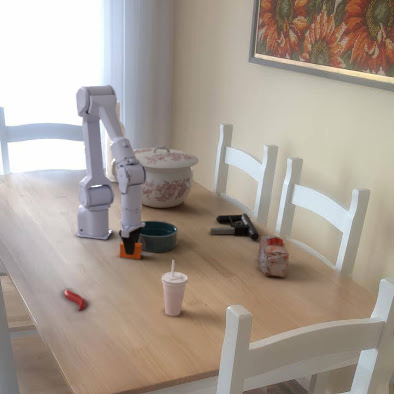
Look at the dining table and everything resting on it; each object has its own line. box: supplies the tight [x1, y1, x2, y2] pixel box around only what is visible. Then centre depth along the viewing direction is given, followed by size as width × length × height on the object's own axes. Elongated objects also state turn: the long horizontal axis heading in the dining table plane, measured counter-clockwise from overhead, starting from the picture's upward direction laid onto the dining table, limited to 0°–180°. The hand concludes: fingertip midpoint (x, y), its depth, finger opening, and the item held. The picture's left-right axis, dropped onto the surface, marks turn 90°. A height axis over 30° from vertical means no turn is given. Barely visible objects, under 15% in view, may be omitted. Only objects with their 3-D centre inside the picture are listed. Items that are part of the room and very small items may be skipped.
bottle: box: [104, 100, 126, 183], centre depth 229 cm, size 8×8×30 cm
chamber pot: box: [111, 145, 199, 209], centre depth 210 cm, size 28×28×21 cm
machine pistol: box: [210, 212, 260, 241], centre depth 194 cm, size 3×20×16 cm
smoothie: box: [160, 259, 189, 317], centre depth 139 cm, size 6×6×14 cm
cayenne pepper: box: [64, 288, 87, 312], centre depth 144 cm, size 12×5×2 cm, turn 18°
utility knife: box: [119, 240, 152, 260], centre depth 169 cm, size 9×3×4 cm, turn 82°
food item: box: [257, 234, 290, 278], centre depth 167 cm, size 14×8×10 cm, turn 5°
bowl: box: [138, 220, 179, 253], centre depth 179 cm, size 14×14×5 cm
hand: (130, 252), depth 170 cm, fingers closed on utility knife, 3 cm apart
